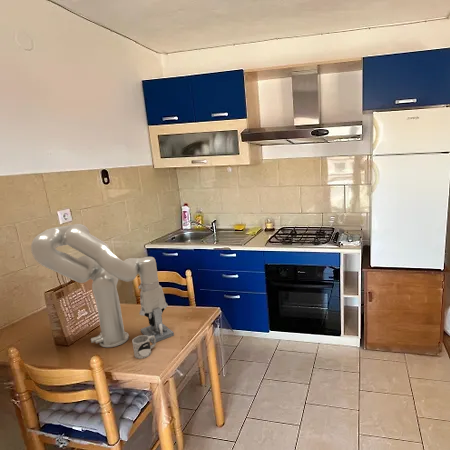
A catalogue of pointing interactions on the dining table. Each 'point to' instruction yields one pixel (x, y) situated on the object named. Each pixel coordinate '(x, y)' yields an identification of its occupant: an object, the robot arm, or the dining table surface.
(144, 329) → the grey peg stand
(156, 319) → the block
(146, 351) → the mug
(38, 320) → the dining table surface
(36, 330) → the dining table surface
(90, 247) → the robot arm
